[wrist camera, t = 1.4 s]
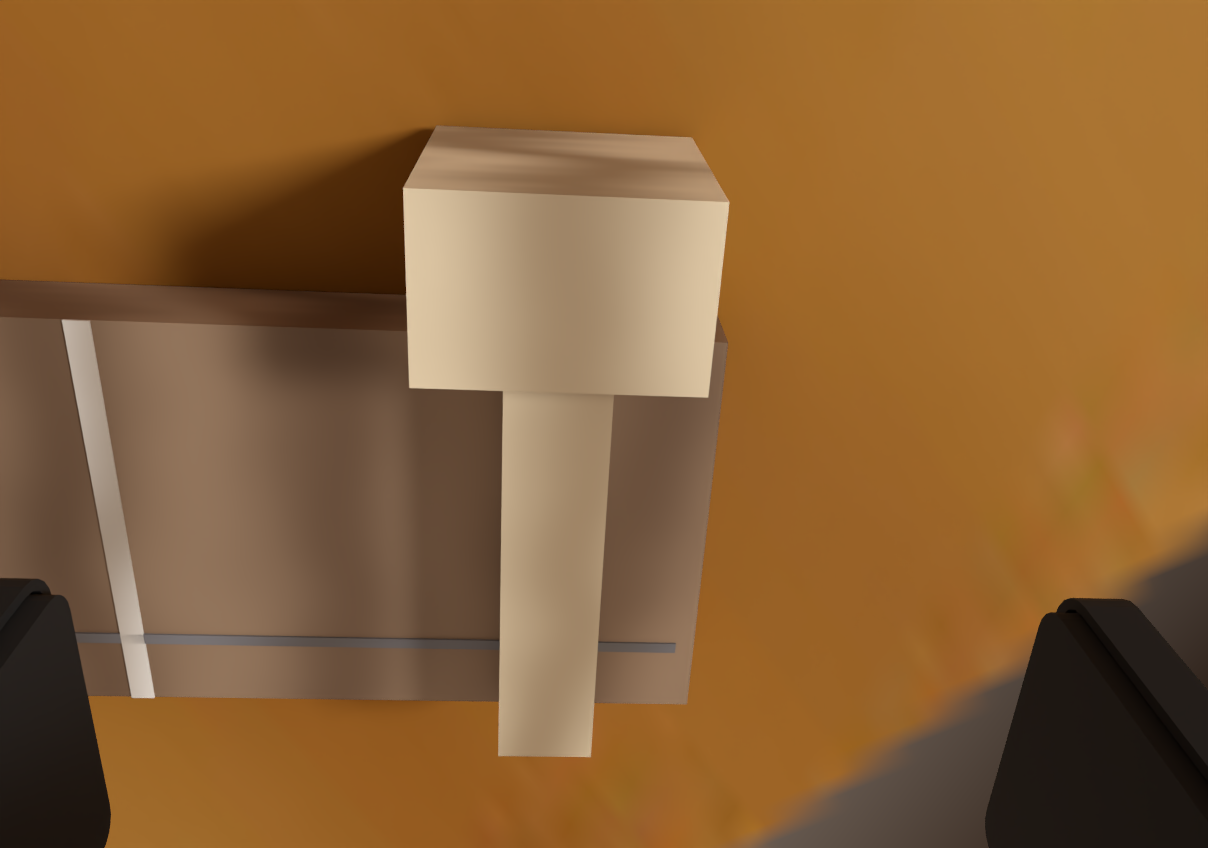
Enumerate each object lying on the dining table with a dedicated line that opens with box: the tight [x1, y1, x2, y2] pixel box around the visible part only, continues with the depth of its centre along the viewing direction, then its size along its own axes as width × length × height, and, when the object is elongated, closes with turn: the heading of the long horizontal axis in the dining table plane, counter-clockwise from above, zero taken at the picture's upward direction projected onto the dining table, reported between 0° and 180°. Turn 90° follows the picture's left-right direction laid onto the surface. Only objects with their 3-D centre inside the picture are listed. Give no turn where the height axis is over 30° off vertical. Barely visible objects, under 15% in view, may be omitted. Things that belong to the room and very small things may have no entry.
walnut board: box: [0, 280, 728, 704], centre depth 28 cm, size 20×11×3 cm, turn 87°
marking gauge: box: [403, 126, 729, 757], centre depth 25 cm, size 6×15×6 cm, turn 177°
